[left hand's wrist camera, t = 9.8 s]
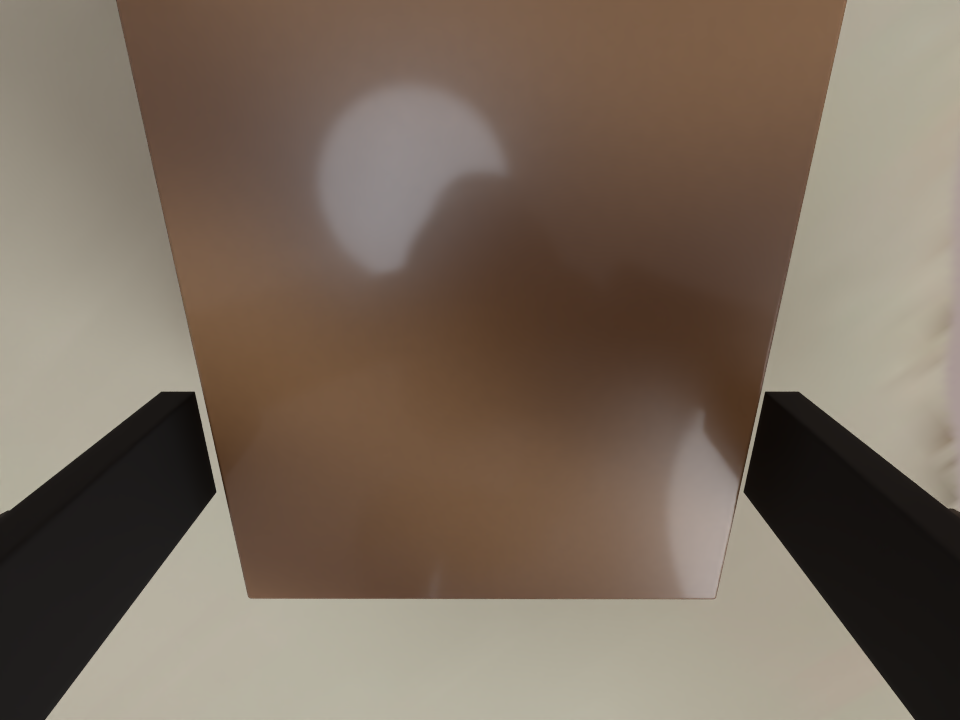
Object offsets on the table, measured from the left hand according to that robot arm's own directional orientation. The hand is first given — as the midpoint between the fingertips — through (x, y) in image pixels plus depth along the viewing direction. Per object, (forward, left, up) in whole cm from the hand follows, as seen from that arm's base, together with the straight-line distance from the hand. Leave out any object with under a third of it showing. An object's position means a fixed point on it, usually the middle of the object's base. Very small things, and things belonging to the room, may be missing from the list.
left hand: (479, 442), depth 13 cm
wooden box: (+5, -2, -6) cm, 9 cm away
